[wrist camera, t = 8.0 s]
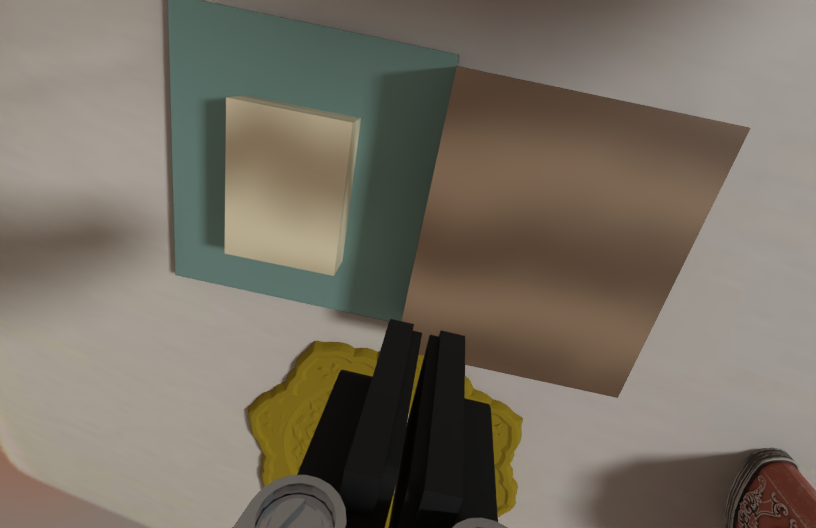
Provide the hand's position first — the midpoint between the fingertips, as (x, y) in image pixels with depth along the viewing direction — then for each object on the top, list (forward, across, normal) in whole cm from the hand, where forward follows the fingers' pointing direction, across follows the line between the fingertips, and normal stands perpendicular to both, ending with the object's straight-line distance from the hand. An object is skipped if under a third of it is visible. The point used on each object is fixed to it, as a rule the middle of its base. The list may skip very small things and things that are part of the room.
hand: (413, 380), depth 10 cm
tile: (+13, +8, +1) cm, 15 cm away
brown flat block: (+16, -5, +1) cm, 17 cm away
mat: (+15, +8, +1) cm, 17 cm away
